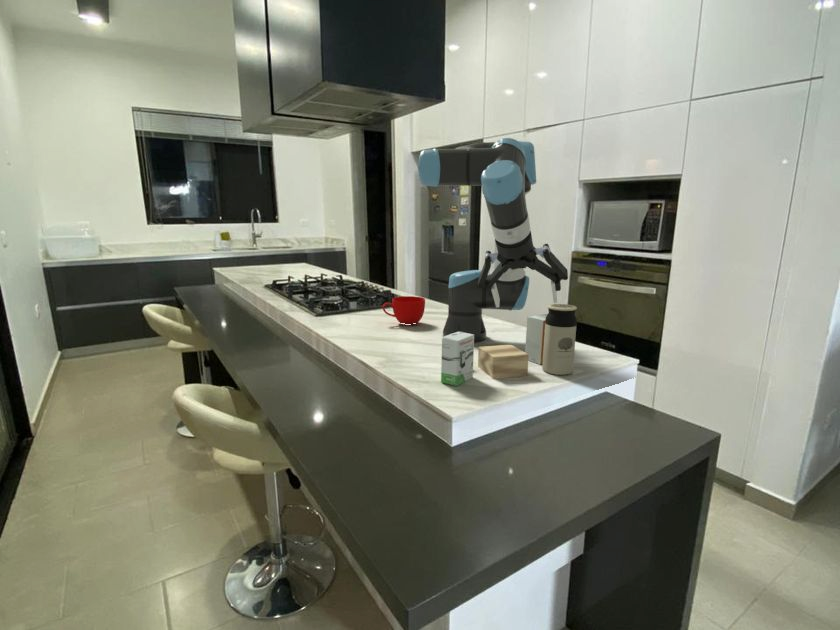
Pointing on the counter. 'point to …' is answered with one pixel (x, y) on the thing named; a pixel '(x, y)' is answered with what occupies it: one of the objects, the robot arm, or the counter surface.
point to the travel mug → (559, 339)
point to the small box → (535, 338)
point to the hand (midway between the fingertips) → (526, 301)
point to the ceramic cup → (407, 309)
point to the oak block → (503, 361)
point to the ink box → (457, 358)
